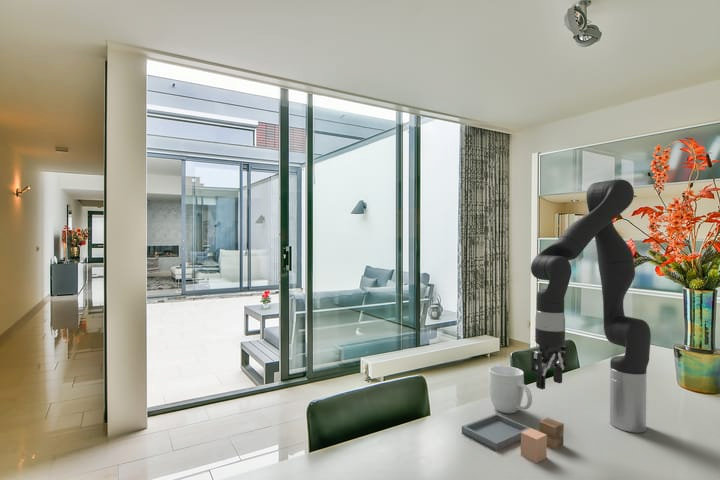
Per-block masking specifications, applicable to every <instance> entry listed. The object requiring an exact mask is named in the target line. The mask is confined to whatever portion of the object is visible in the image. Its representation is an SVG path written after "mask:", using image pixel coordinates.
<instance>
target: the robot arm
mask: <svg viewBox="0 0 720 480" xmlns="http://www.w3.org/2000/svg"><path fill="white" fill-rule="evenodd" d="M634 196H635V191H634V187H633V186H632V184H631V182H629V181H628V180H626V179H611V180H605V181H598V182H593V183H592V184H590V185H589V186H588V187H587V190H586V205H587V209H588V213H587V214H585V215H583V216H582V217H580V218H579V219H577V220H576V221H574V222H572V223H571V224H570V225H569V226H568V227H567V228H566V229H565V230H563V232H562V234H561V235H560V236H559V237H558V238H557V239H556V241H555V242H554V243H552V244H550V245H549V246H547V247H546V248H544V249H543V250H541V252H539V253H538V254H537V255H536V256H535V257H534V259H533V260H532V262H531V263H530V264H531V266H530V271H531V274H532V276H533V277H534V278H536V279H538V280H542V281H548V284H547V287H546V288H542V289H540V290H538V291H537V293H536V313H535V318H534V319H535V327H534V328H535V329H534V330H535V331H534V335H535V336H534V339H535V340H534V341H535V343H536V344H537V345H538V346H539V348H538V350H532V351H531V355H530V356H531V357H530V359H531V360H530V372H531V373H532V374H535V375H536V376H535V380H536V381H535V382H536V383H535V385H536V386H535V387H536V388H537V389H540V390H545V389H546V373H547V371H548V370H549V369H550V368H551V367H552V366H553V370H552V371H553V374H552V375H553V382H554V383H557V384H562V383H563V371H564V369H565V367H566V368H567V367H568V346H567V345H566V317H565V296H566V294H567V290H568V287H569V283H570V280H571V278H572V277H571V276H572V266H571V263H570V261H572V260H575V259H577V258H578V257H579V256H580V254H582V252H583V251H584V249H586V248H587V246H588V245H589V243H591V241H592V240H593V239H594V241H595V247H596V253H597V264H598V271H599V278H600V284H601V294H602V295H601V296H602V304H603V305H602V306H603V307H602V308H603V311H602V312H603V332H604V335H605V338H606V340H607V341H608V342H609V343H610V344H611V343H612V344H613V345H617V346H620V347H624V348H625V352H624V355H619V356H617V355H615V356H614V357H611V358H610V363H609V365H610V367H609V377H610V378H609V381H610V382H609V385H610V387H609V424H610V425H611V426H613V427H615V429H616V428H617V429H619V430H620V431H626V432H627V433H628V432H630V433H636V434H637V433H645V432H646V430H647V372H648V371H647V370H648V365H649V362H650V355H651V341H652V339H651V337H652V336H651V334H652V333H651V328H650V326H649V323H648V322H647V321H645V320H644V319H640V318H636V317H630V316H626V315H625V312H624V311H625V309H624V299H625V296H626V295H627V293H628V290H629V288H630V287H631V285H632V283H633V282H634V280H635V277H636V268H635V260H634V255H633V251H632V249H631V248H630V246H629V245H628V244H627V242H626V241H625V239H624V238H623V237H622V236H621V235H620V233H619V232H618V231H617V229H616V226H615V225H614V222H613V221H614V220H615V219H616V218H617V217H619V216H620V215H621V214H622V213H623V212H624V211H625V210H627V209H628V208H629V207H630V205H631V204H632V203H633V200H634Z"/></svg>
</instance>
